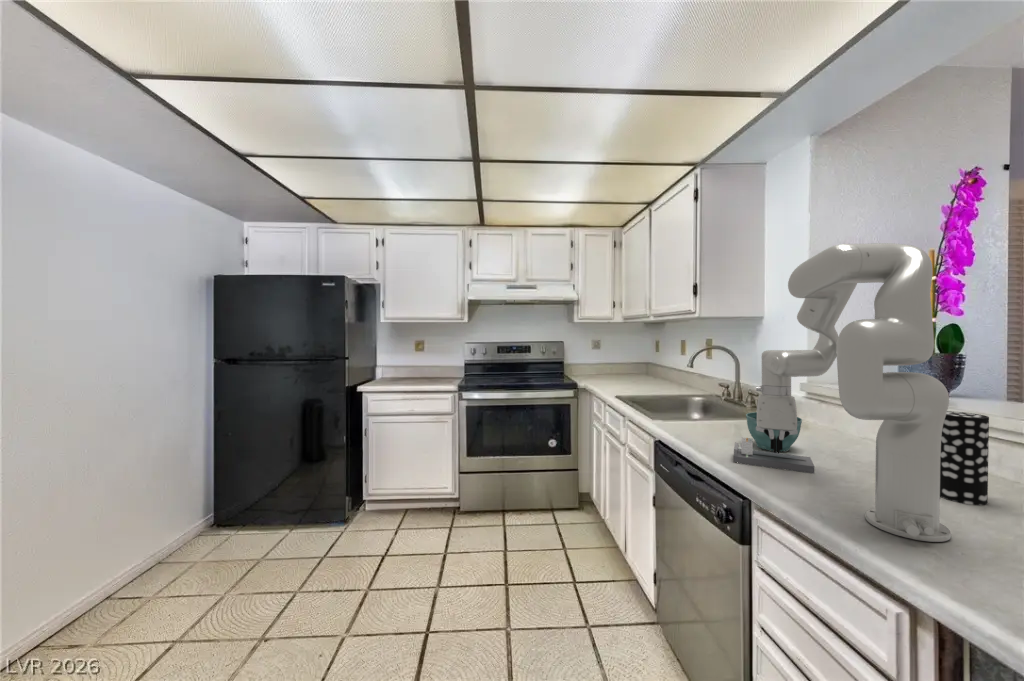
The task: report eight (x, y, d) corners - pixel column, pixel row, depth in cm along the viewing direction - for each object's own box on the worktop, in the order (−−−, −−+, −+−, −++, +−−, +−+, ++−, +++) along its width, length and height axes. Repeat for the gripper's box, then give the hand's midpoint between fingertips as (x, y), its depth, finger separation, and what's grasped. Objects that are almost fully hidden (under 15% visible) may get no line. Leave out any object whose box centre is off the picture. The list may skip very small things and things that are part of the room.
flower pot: (809, 457, 131) (809, 423, 131) (752, 452, 136) (752, 420, 136) (792, 443, 147) (792, 413, 147) (741, 440, 152) (741, 411, 152)
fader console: (814, 473, 116) (814, 459, 116) (733, 462, 126) (733, 449, 126) (810, 463, 125) (810, 450, 125) (734, 454, 135) (735, 441, 135)
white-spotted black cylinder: (930, 489, 105) (932, 410, 104) (978, 495, 100) (979, 413, 100) (943, 500, 97) (944, 416, 97) (994, 508, 93) (996, 419, 93)
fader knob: (752, 455, 126) (752, 441, 126) (741, 454, 128) (741, 440, 127) (752, 451, 130) (752, 438, 130) (741, 449, 132) (741, 437, 132)
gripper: (747, 391, 125) (747, 451, 125) (808, 394, 118) (808, 458, 118) (747, 388, 132) (748, 446, 132) (805, 391, 124) (805, 452, 124)
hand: (776, 451), depth 125 cm, fingers closed
